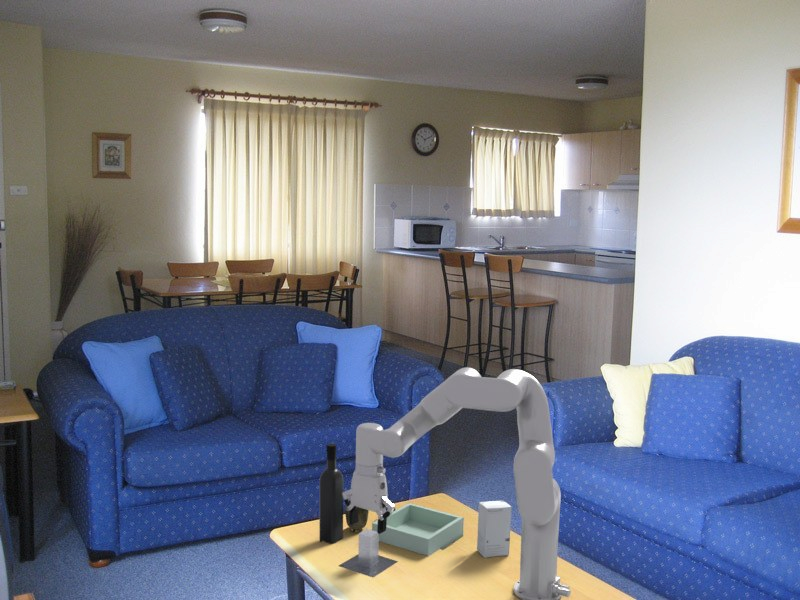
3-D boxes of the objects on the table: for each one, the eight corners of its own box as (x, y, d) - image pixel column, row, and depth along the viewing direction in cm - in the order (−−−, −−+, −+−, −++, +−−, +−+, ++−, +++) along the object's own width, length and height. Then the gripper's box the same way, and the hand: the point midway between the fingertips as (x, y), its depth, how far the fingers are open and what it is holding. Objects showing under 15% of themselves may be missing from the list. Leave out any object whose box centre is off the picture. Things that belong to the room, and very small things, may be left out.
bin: (463, 536, 252) (463, 517, 251) (428, 559, 236) (428, 539, 235) (408, 520, 263) (409, 502, 262) (371, 542, 247) (372, 522, 246)
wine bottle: (329, 536, 250) (329, 440, 247) (344, 540, 247) (344, 444, 244) (317, 543, 245) (318, 445, 242) (333, 547, 243) (333, 448, 239)
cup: (365, 538, 249) (365, 513, 248) (341, 536, 251) (342, 511, 250) (371, 528, 256) (371, 504, 255) (348, 526, 258) (348, 502, 257)
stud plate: (398, 564, 232) (398, 549, 231) (373, 580, 222) (373, 564, 221) (364, 554, 238) (364, 538, 238) (338, 569, 229) (338, 553, 228)
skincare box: (484, 558, 237) (485, 509, 235) (476, 549, 242) (477, 501, 240) (510, 555, 239) (512, 506, 237) (502, 546, 245) (503, 498, 243)
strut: (378, 562, 231) (378, 532, 229) (370, 568, 227) (370, 536, 226) (366, 559, 233) (367, 528, 232) (358, 564, 229) (358, 533, 228)
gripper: (402, 471, 225) (400, 531, 227) (352, 458, 234) (351, 516, 237) (386, 479, 219) (385, 540, 221) (335, 465, 228) (334, 524, 231)
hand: (367, 527), depth 229 cm, fingers open, 9 cm apart
